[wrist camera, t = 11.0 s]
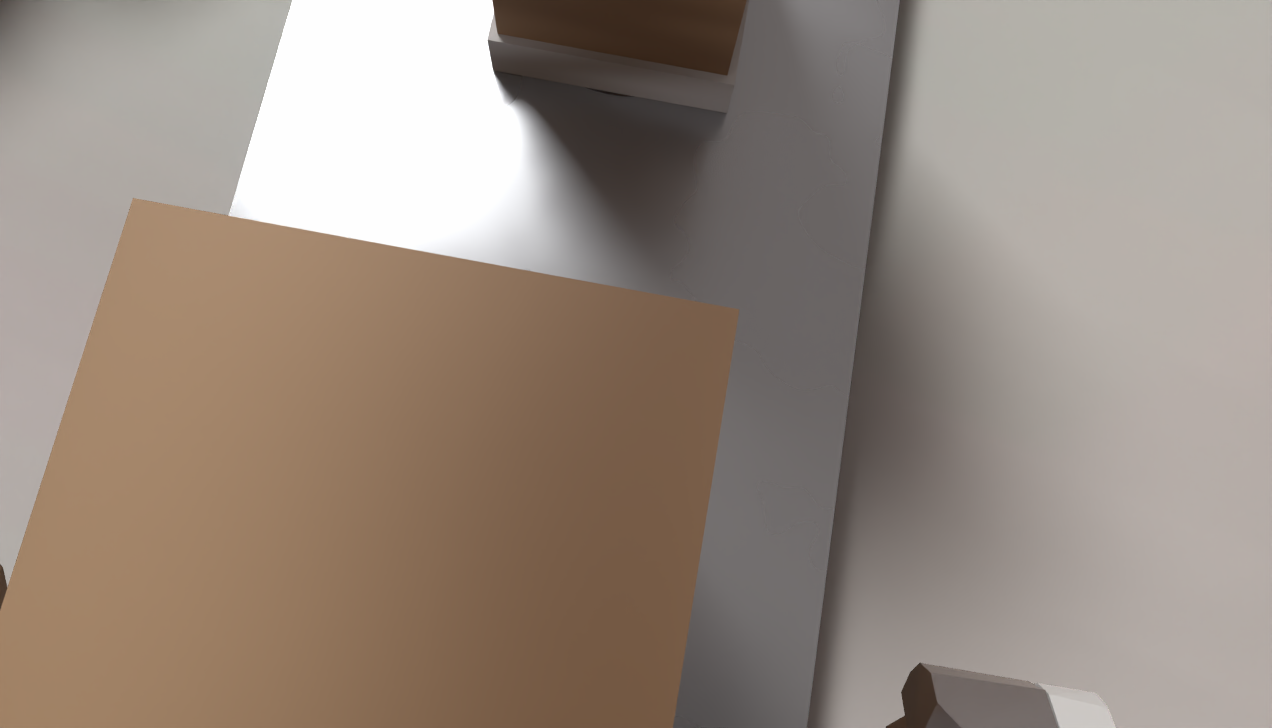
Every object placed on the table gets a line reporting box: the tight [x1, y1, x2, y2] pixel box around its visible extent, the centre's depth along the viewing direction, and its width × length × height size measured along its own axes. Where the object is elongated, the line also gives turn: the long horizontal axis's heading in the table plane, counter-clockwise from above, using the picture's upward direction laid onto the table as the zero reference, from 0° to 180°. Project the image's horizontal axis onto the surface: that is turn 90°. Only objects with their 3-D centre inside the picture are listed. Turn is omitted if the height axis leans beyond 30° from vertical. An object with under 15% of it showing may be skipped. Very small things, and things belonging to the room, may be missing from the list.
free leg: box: [0, 198, 739, 728], centre depth 11 cm, size 4×4×10 cm
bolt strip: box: [229, 0, 900, 728], centre depth 16 cm, size 11×28×1 cm, turn 170°
